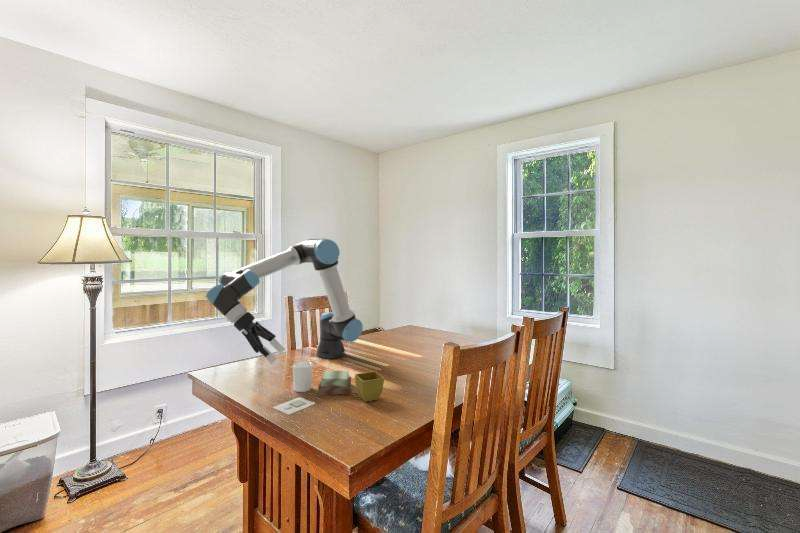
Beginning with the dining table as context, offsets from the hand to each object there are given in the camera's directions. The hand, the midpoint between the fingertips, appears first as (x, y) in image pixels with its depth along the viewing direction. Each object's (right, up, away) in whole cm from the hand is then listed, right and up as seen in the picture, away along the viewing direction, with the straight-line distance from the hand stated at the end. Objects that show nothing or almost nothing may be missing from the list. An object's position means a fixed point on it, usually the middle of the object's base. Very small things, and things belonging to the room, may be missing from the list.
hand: (278, 356), depth 146 cm
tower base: (+22, -14, +3) cm, 26 cm away
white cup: (+9, -14, +2) cm, 17 cm away
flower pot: (+36, -15, -6) cm, 40 cm away
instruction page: (+10, -14, -14) cm, 23 cm away
